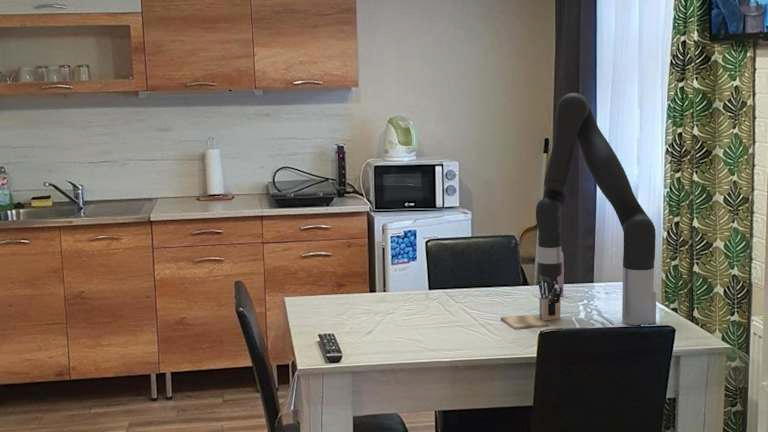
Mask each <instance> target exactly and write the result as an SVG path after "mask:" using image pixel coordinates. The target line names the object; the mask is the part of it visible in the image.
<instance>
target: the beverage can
mask: <svg viewBox="0 0 768 432" xmlns="http://www.w3.org/2000/svg"><path fill="white" fill-rule="evenodd" d="M564 258H565V257H564V253H563V252H562V275H561V276H558V277H557V280H558V287H561V288H562V292H561V296H560V298H562V297H563V296H564V272H565V271H564V260H565V259H564Z"/></svg>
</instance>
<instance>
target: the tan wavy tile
mask: <svg viewBox="0 0 768 432" xmlns="http://www.w3.org/2000/svg"><path fill="white" fill-rule="evenodd" d="M500 321H502V322H503V323H504V324H506V325H508V326H509V327H510V328H512V329H513V330H524V329H525V330H526V329H535V328H545V327H546V328H547V327H549V326H550V325H549V323H548V322H546V320H541V319H540V317H539V316H536V315H535V314H523V315H513V316H503V317H500Z"/></svg>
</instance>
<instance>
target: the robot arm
mask: <svg viewBox="0 0 768 432" xmlns="http://www.w3.org/2000/svg"><path fill="white" fill-rule="evenodd" d="M576 141H577V142H578V144H579V146H580V147H579V148H580V151H581V153H582V156H583V159H584V161H585V164H586V167H587V168H588V171H589V172H590V174H591V176H592V178H593V180H594V182H595V184H596V185H597V187H598V188H599V190H600V191H601V193H602V194H603V196H604V197H605V198H606V200H607V201H608V202H609V203H610V205H611V206H612V207H613V209H614V212H615V214H616V216H617V218H618V220H619V223H620V226H621V228H622V232H623V252H622V253H623V255H622V301H621V302H622V305H621V307H622V308H621V312H622V313H621V318H622V320H621V321H622V323H623V324H625V325H630V326H637V325H643V326H648V325H647V324H650V325H652V324H656V323H657V292H656V291H655V289H654V288H655V287H654V286H655V260H656V240H657V239H656V227H655V225H654V223H653V221H652V219H651V218H650V216H648V214H647V212H645V210H644V208H643V207H642V206H641V204H640V203H639V201H638V200H637V198H636V196H635V194H634V192H633V189H632V186H631V183H630V180H629V177H628V175H627V173H626V171H625V168H624V167H623V165H622V163H621V161H620V160H619V158H618V156H617V154H616V153H615V151H614V149H613V148H612V146H611V145H610V143H609V141H608V140H607V138H606V137H605V136H604V134H603V133H602V131H601V130H600V128H599V126H598V124H597V121H596V119H595V117H594V114H593V111H592V108H591V107H590V104H589V101H588V99H587V98H586V97H585V95H583V94H581V93H577V92H570V93H567V94H565V95H563V96H562V97H561V98H560V100H559V101H558V102H557V107H556V127H555V136H554V141H553V145H552V148H551V153H550V157H549V160H548V163H547V168H546V171H545V176H544V182H543V185H544V187H545V188H544V193H543V197H542V198H541V199H540V200H539V201H538V202H537V204H536V206H535V221H536V227H537V231H538V236H537V237H538V238H537V240H538V241H537V243H538V245H537V246H538V249H537V275H538V276H539V277H541V279H539V280H537V284H538V289H539V294H540V298H545V297H548V315H549V316H554V315H555V304H556V303H559V300H560V301H561V297H560V296H561V292H562V288H561V287H558V280H557V277H558V276H561V275H562V253H563V251H562V232H561V230H560V228H559V220H558V219H559V218H558V217H560V215H561V214H562V213H563V209H564V207H565V203H566V201H565V199H566V193H567V192H566V190H567V185H568V183H569V182H568V181H569V178H570V177H569V176H570V173H571V169H572V164H573V156H574V151H575V150H574V149H575V144H576Z"/></svg>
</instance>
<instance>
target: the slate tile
mask: <svg viewBox="0 0 768 432" xmlns="http://www.w3.org/2000/svg"><path fill="white" fill-rule="evenodd" d="M539 318H540V319H541V320H543V321H547V320H548V321H549V320H560V319H561V299H560V300H559V303H556V304H555V315H554V316H549V315H548V297H545V298H541V297H539Z"/></svg>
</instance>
